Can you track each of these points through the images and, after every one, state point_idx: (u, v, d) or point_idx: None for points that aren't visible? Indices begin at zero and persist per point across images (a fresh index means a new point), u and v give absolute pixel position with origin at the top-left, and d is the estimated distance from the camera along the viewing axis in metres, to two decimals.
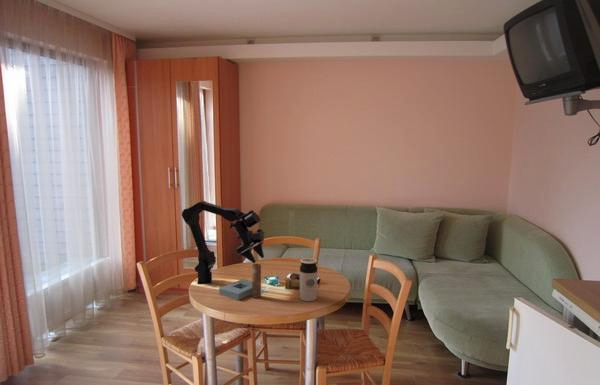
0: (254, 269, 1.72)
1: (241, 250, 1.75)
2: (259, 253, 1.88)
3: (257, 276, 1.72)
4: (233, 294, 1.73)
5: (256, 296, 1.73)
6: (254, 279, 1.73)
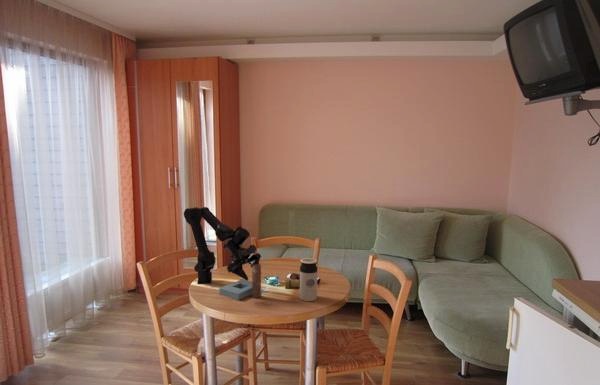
0: (254, 269, 1.72)
1: (230, 268, 1.70)
2: None
3: (257, 276, 1.72)
4: (233, 294, 1.73)
5: (256, 296, 1.73)
6: (254, 279, 1.73)
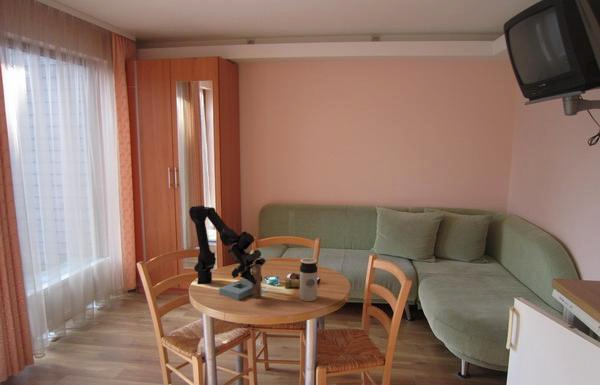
0: (254, 269, 1.72)
1: (235, 273, 1.69)
2: None
3: (257, 276, 1.72)
4: (233, 294, 1.73)
5: (256, 296, 1.73)
6: None
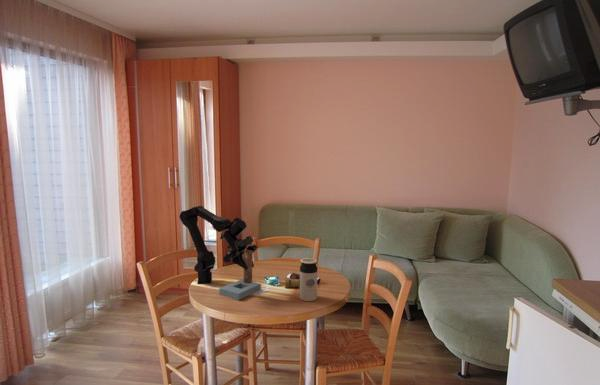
0: (246, 255, 1.74)
1: (227, 258, 1.71)
2: None
3: (248, 261, 1.75)
4: (233, 294, 1.73)
5: (247, 281, 1.76)
6: None
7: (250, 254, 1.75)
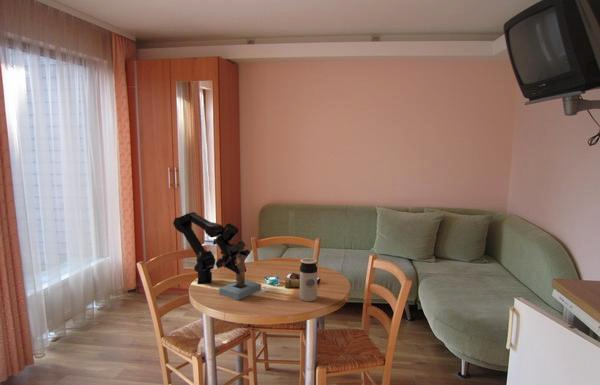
0: (238, 259, 1.78)
1: (219, 263, 1.74)
2: None
3: (241, 266, 1.78)
4: (233, 294, 1.73)
5: (240, 286, 1.79)
6: (238, 269, 1.78)
7: (242, 259, 1.78)
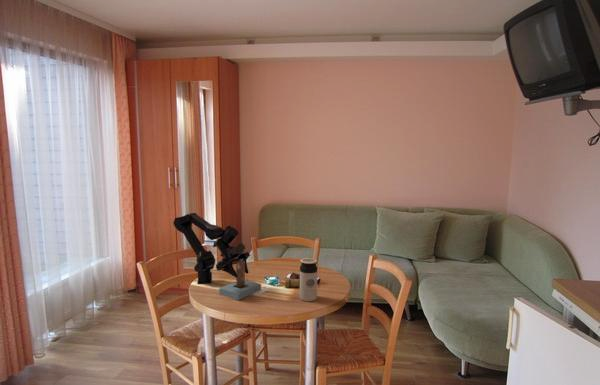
0: (238, 265, 1.78)
1: (219, 266, 1.74)
2: None
3: (241, 272, 1.78)
4: (233, 294, 1.73)
5: None
6: (238, 275, 1.78)
7: (242, 264, 1.78)
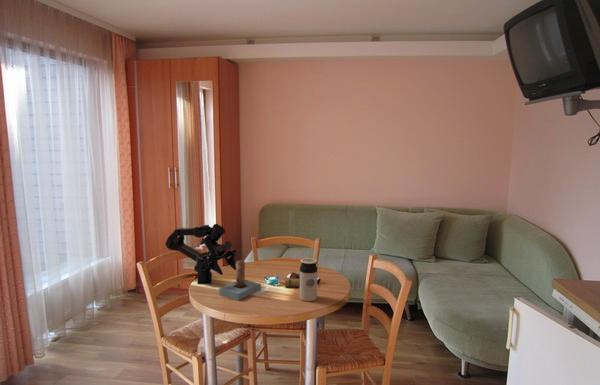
0: (238, 265, 1.78)
1: (206, 263, 1.79)
2: (232, 265, 1.89)
3: (241, 272, 1.78)
4: (233, 294, 1.73)
5: None
6: (238, 275, 1.78)
7: (242, 264, 1.78)
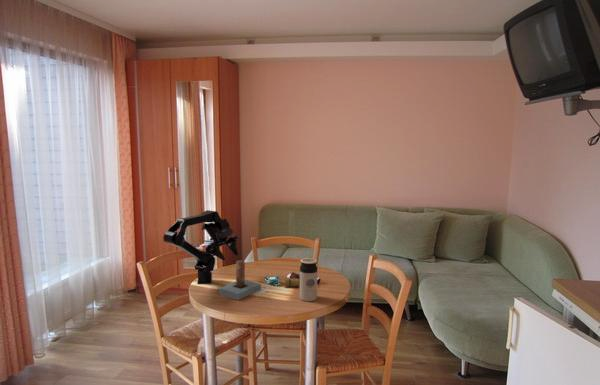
0: (238, 265, 1.78)
1: (208, 249, 1.86)
2: (233, 251, 1.96)
3: (241, 272, 1.78)
4: (233, 294, 1.73)
5: None
6: (238, 275, 1.78)
7: (242, 264, 1.78)
